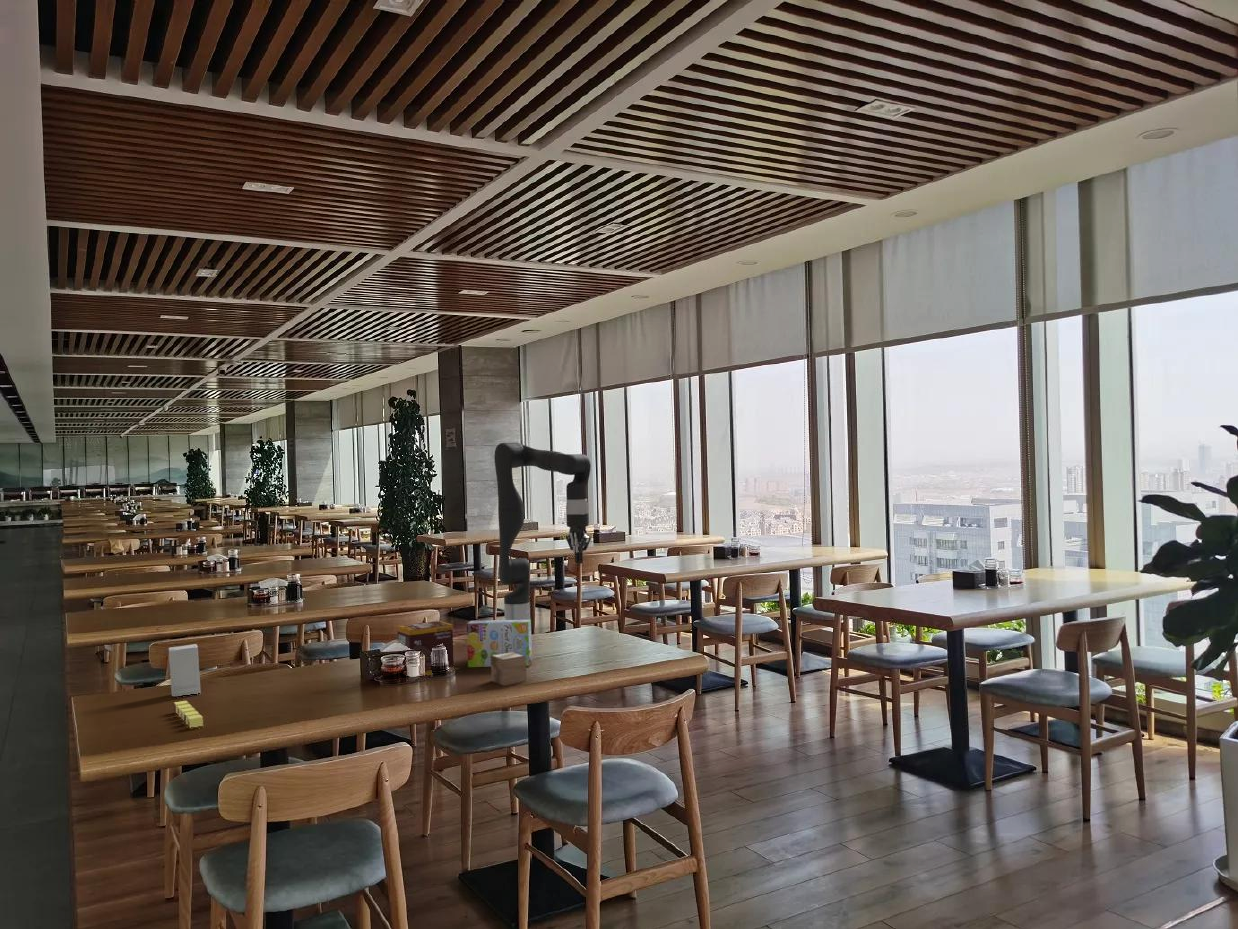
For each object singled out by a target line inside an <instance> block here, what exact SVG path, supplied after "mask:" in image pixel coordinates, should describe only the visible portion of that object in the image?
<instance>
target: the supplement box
mask: <svg viewBox="0 0 1238 929" xmlns="http://www.w3.org/2000/svg"><path fill="white" fill-rule="evenodd" d="M453 630H454V627H453V624H452V623H449V622H445V621H442V620H436V621H435V620H434V621H429V622H420V623H419V622H418V623H411V624H406V625H398V626H397V644H398V643H401V644H402V645H404V646H407V647H408V648H410V649H416V650H421V652H422V653H423V654H424V655H425V671H426V675H427V676H433V675H432V670H431V656H430V655H431V652H432V648H433V647H435V646H437V645H440V644H442V643H443V645H444V646H445V647H446V650H447V654H448V661H449V667H450V668H451V669H452V670H454V671H455V666H454V632H453ZM398 641H399V642H398ZM427 676H426V677H427Z"/></svg>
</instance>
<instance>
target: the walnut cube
mask: <svg viewBox="0 0 1238 929" xmlns="http://www.w3.org/2000/svg"><path fill="white" fill-rule="evenodd" d="M490 678H491V682H493V683H495V684H499V685H500V686H510V685H513V684H519V683H520V684H521V683H525V682H527V666H526V656H525V655H521V654H518V653H515V652H510V653H504V654H498V655H492V656H491V667H490Z"/></svg>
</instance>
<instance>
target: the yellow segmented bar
mask: <svg viewBox="0 0 1238 929" xmlns="http://www.w3.org/2000/svg"><path fill="white" fill-rule="evenodd" d="M174 711H175V712H176V713H177V714H178V715H179V717H181V719H183V720H184V722H185V723H186V724H187V725H188V726H189V727H190V728H191V727H198V726H203V727H204V716H202V715H201V714H200V713H199V711H198V710H196V709H195V707H193V706H192V705H191V703H189V701H187V700H181V701H175V702H173V712H174ZM179 717H178V718H179ZM181 719H180V720H181ZM184 722H183V723H184ZM188 726H187V727H188Z"/></svg>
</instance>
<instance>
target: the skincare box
mask: <svg viewBox="0 0 1238 929" xmlns="http://www.w3.org/2000/svg"><path fill="white" fill-rule="evenodd" d="M168 662H169V665H168V666H169V674H170V690H171V697H172V696H182V695H190V694H197V695H199V694H198V693H200V694H201V693H202V692H201V681H200V680H201V679H200V666H199V665H200V664H199V663H200V662H199V648H198V644H197V643H193V644H186V645H180V646H179V645H178V646H173V647H172V646H171V647H168ZM190 696H191V695H190Z"/></svg>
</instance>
